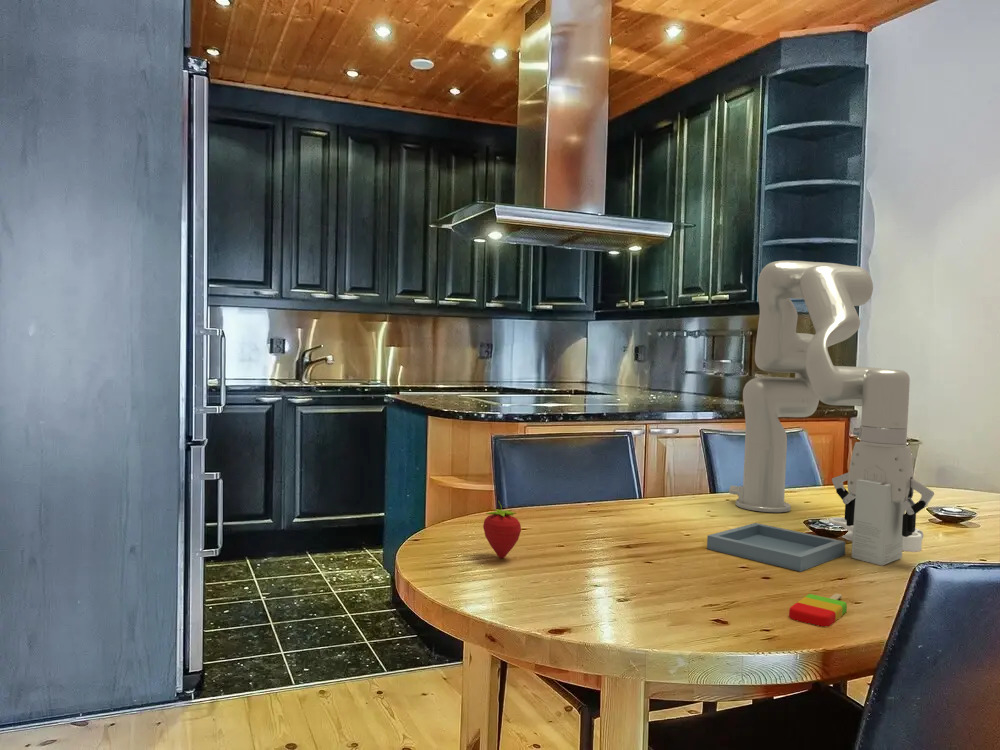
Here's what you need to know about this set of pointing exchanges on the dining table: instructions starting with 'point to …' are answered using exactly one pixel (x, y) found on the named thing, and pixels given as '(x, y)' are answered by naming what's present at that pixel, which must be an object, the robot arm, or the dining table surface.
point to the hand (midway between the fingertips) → (878, 530)
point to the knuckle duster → (910, 542)
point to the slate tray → (776, 546)
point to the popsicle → (818, 609)
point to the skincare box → (876, 524)
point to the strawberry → (502, 531)
